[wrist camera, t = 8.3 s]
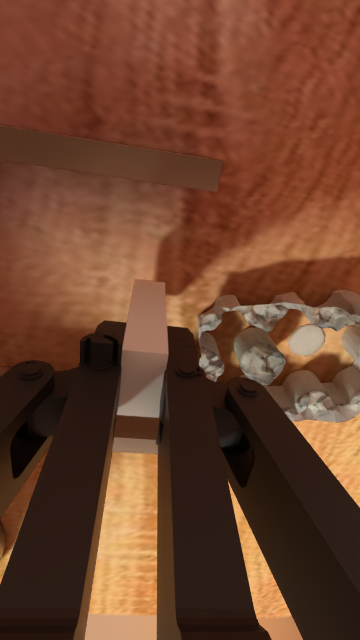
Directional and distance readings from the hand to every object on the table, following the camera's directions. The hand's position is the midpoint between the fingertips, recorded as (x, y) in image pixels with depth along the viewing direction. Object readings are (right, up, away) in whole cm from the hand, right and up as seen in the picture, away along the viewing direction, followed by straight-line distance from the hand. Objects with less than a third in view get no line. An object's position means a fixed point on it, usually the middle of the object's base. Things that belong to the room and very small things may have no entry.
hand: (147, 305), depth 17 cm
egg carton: (+8, -2, +4) cm, 9 cm away
